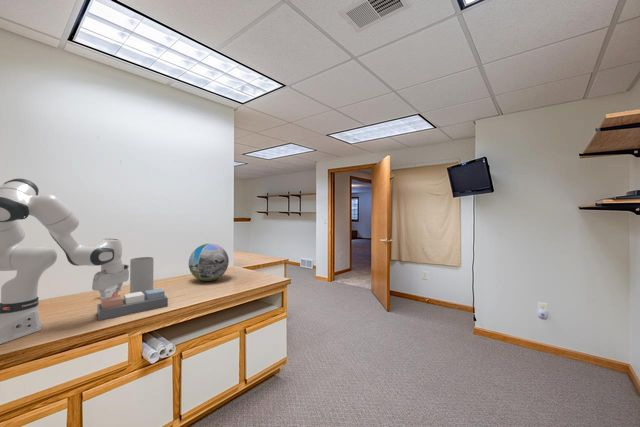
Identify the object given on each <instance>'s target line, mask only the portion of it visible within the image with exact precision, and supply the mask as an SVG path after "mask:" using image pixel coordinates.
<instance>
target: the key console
mask: <svg viewBox="0 0 640 427" xmlns="http://www.w3.org/2000/svg"><path fill="white" fill-rule="evenodd" d="M168 298H169V297H167V295H165V294H164V297H163V298H158V299H153V300H148V301H147V300H146V299H145V296H144V301H142V302H137V303H132V304H127V305H125V303H124V299H122V305H121V306H116V307H111V308H106V309H101V306H100V305H101V303H97V306H96V307H97V310H96V311H97V312H96V313H97V317H98V320H99V321H103V320H109V319H113V318H117V317H118V318H119V317H123V316H127V315H132V314H136V313H137V314H138V313H141V312H147V311H150V310H155V309H161V308H165V307H168V303H169V302H168V301H169V299H168Z"/></svg>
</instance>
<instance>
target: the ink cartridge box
mask: <svg viewBox="0 0 640 427" xmlns="http://www.w3.org/2000/svg"><path fill="white" fill-rule="evenodd" d="M117 286H118V285H114V286H111V287H108V288H105V293H107V296H106V297H112V296H118V295H119V292H116V288H117ZM106 297H101V293H100V292H99V299H101V298H106Z"/></svg>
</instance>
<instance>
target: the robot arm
mask: <svg viewBox="0 0 640 427" xmlns="http://www.w3.org/2000/svg"><path fill="white" fill-rule="evenodd" d="M29 216H32V217H34V218H35V219H37V221H39V222H40V224H42V226H44V228H46V230H48V232H49V235H50V236H51V239H53V240H54V242H56V244H57V245H58V246H59V248H60V249H62V251H63V252H64V254H65V256H66V259H67V261H68V263H69V264H70V265H73V266H76V267H77V266H87V267H91V266H92V267H99V266H100V271H97V272H96V273H95V274H94V276H93V278H92V286H91V289H92V290H93V291H98V292H99V294H100V293H101V297H106V296H107V293H105V288H108V287H111V286H114V285H118V286H117V288H116V292H118V293H119V292H121V291H122V287H123V285H124V283H125V282H128V281H129V280H130V271H129V270H130V269H129V268H130V264H126V263H125V264H124V263H123V260H122V255H123V247H122V242H121V240H119V239H117V238H104V239H102V241H101V242H99V243H98V244H96V245H94V246H91V245H89V246H87V245H83V244H81V243H79V242H78V241H77V240H76V239H75V238H76V237H74V236H73V235H72V233H74V231H75V230H76V229H77V228H78V227H79V225H80V220H79V218H78V216H77V215H76V213H75V212H74V211H73V210H72V209H71V208H70V207H69V206H68V205H67V204H66V203H65V202H64V201H63V200H61V199H60V198H58V197H57V196H56V195H54V194H50V193H43V194H40V195H39V188H38V186H37V184H36V183H34V182H33V181H31V180H28V179H24V178H14V179H13V178H12V179H10V180H8V181H6V182H4V183H3V184H2V185H0V272H7V271H8V272H10V271H16V275H15V277H13V278H11V279H9V280H8V281H6V282H4V283H3V284H2V285H1V288H0V345H1V344H5V343H9V342H10V341H14V340H16V339H20V338H22V337H25V336H28V335H30V334H31V335H32V334H33V333H37V332H39V331H41V330H42V327H43V324H42V322H41V320H40V315H39V308H38V306H39V297H38V286H39V280H40V279H41V276H42V275H43V274H44V273H45V272H46V271H47V269H49V268H51V267H52V266H54V264H55V263H56V261H57V259H58V254H57V251H56V250H55V249H54V247H49V246H43V245H41V246H40V245H35V246H34V245H28V246H27V245H25V246H24V245H23V246H20V245H18V244H20V243H21V242H22V241H23V240H24V239H25V236H26V233H25V232H26V231H25V229H23V226H22V225H21V223H20V222H19V220H25V219H27V218H28V217H29Z"/></svg>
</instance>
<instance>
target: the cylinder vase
mask: <svg viewBox="0 0 640 427" xmlns="http://www.w3.org/2000/svg"><path fill="white" fill-rule="evenodd" d="M129 263H130V264H129V268H130V269H129V270H130V271H129V293H135V292H142V293H143V294H144V296H145V291H147V290H153V289H154V257H152V256H144V257H143V256H141V257H134V258H131V259H130V262H129Z"/></svg>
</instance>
